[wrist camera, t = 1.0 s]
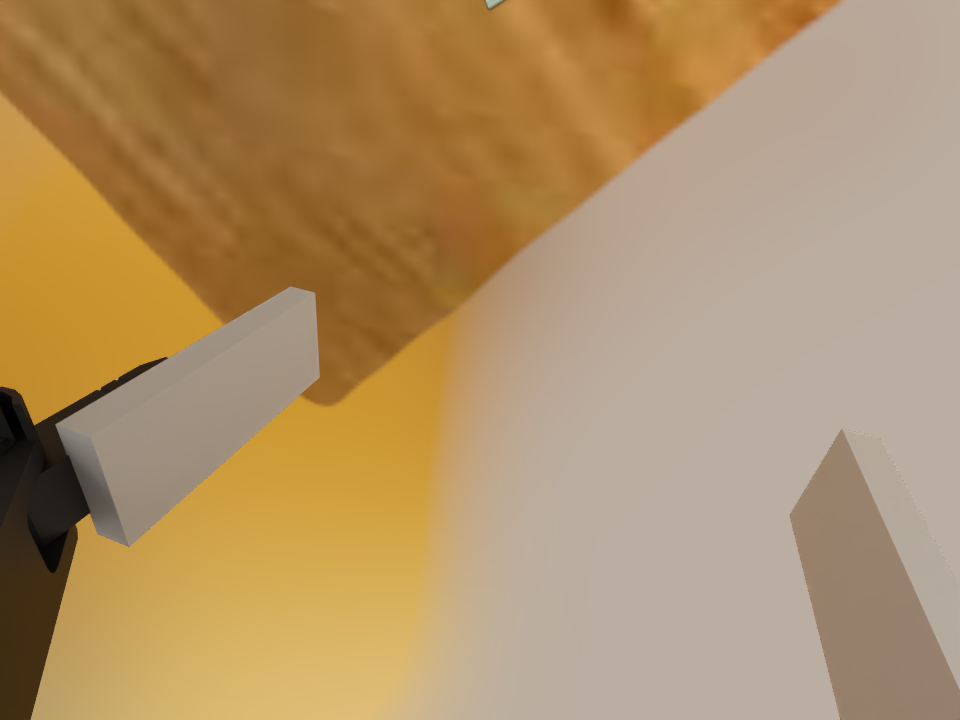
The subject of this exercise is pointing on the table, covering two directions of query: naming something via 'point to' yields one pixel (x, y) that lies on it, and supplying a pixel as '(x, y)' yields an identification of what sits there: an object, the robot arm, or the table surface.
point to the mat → (493, 3)
